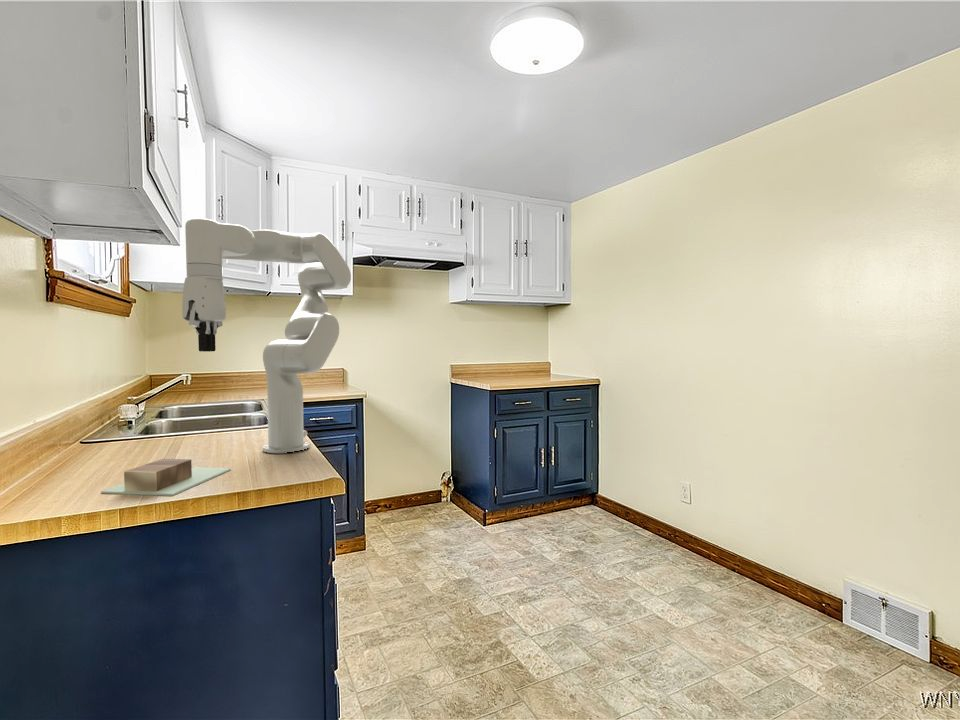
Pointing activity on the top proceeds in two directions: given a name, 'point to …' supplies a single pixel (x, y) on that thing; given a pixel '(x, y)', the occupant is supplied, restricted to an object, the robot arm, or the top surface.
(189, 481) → the sage mat
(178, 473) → the walnut slab
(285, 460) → the top surface
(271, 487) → the top surface
